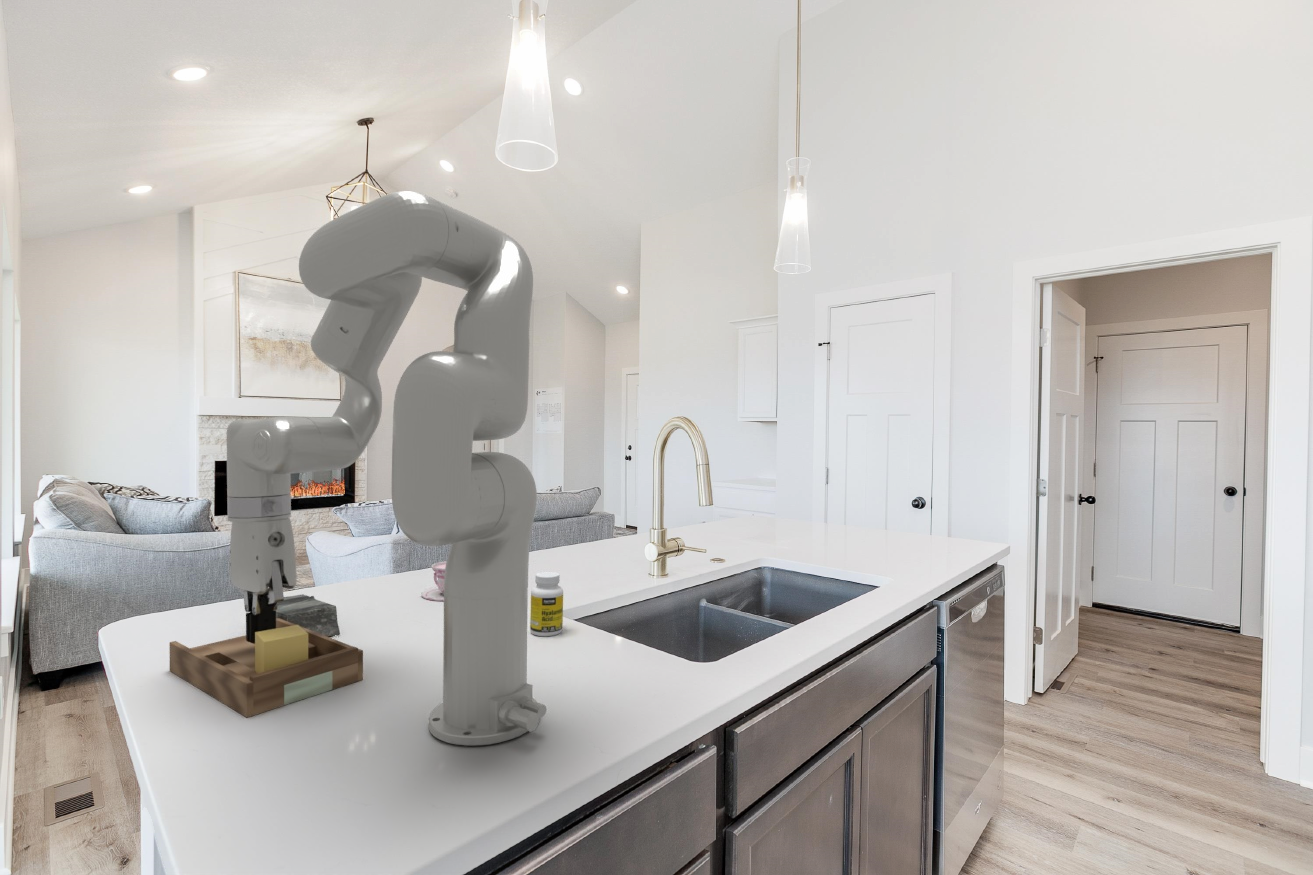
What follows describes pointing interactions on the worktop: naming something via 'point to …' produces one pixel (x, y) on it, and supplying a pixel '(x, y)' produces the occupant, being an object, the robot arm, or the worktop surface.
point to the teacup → (436, 591)
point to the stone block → (309, 614)
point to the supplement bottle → (546, 605)
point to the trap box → (239, 686)
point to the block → (280, 647)
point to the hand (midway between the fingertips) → (261, 639)
